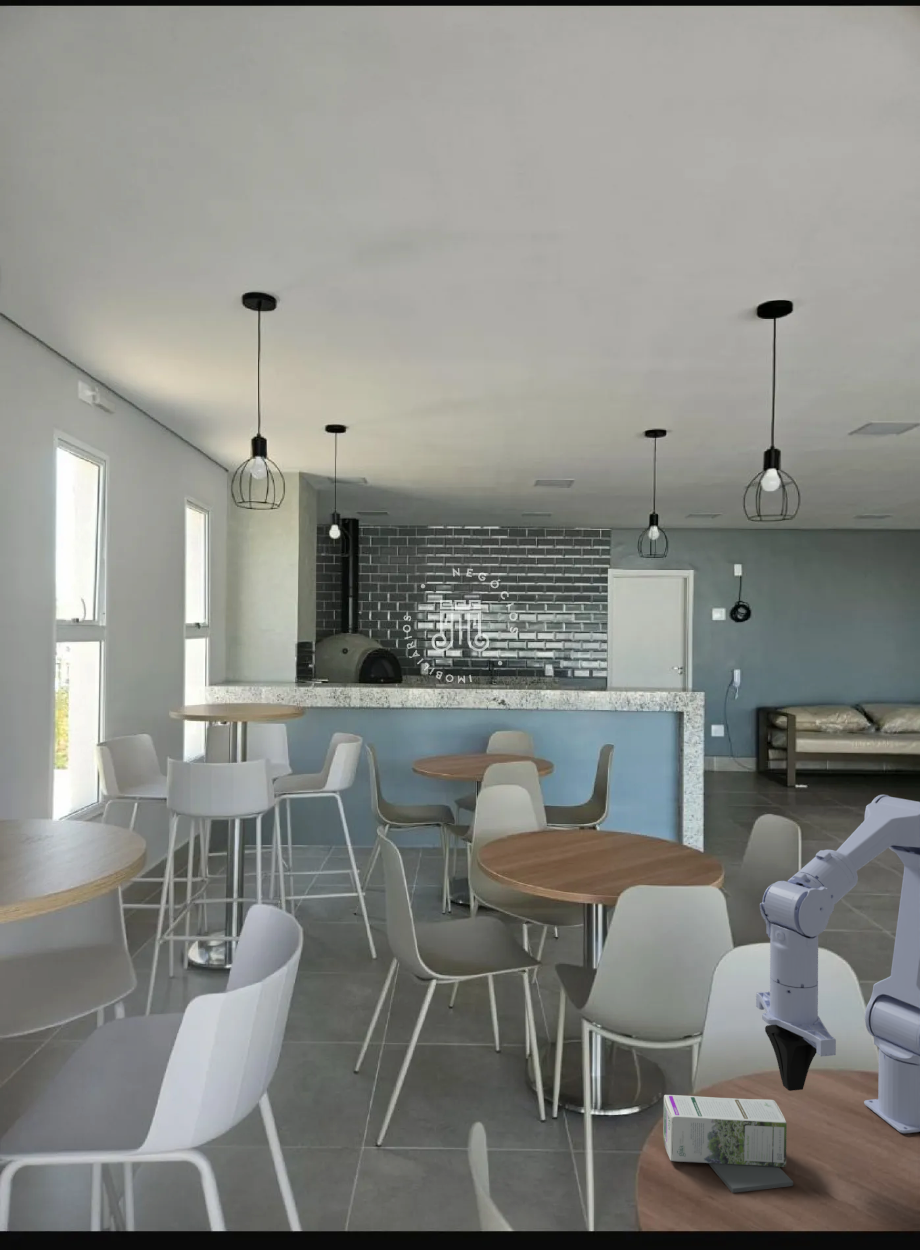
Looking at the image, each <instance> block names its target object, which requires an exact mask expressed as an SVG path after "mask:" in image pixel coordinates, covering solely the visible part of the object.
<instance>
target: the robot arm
mask: <svg viewBox="0 0 920 1250" xmlns="http://www.w3.org/2000/svg"><path fill="white" fill-rule="evenodd" d="M887 849H889V850H890V851H891V852H893V853H895V854H896V855H897V857H898V858H899V860H900V861H901V863H902V864H903V876H902V885H901V892H900V899H899V906H898V907H899V909H898V916H897V923H896V932H895V938H894V939H895V940H894V947H893V955H892V963H891V970H890V976H888V977H886V978H884V979H882V980H879V981H878V982H876V983H874V984H873V986H872V987H873V988H872V993H871V995H870V999H869V1001H868V1003H867V1005H866V1007H865V1010H864V1011H865V1012H864V1023H865V1027H866V1030H867V1032H868V1033H869V1035H870V1036H872V1037H873V1045H875V1046H876V1047H878V1078H877V1079H878V1085H877V1086H878V1090H877V1091H878V1092H877V1094H878V1097H877V1098H875V1099H874V1098H873V1099H866V1100H864V1101H863V1103H864V1105H865V1106H866V1107H867V1108H868V1109H870V1110H871V1111H872V1112H873V1113H875V1114H876V1115H877V1116H878V1117H880V1118H881V1119H882V1120H883V1121H885V1122H886V1123H887V1124H889V1125H890V1126H891V1127H893V1128H894V1129H895V1130H897V1131H898V1132H899V1133H900V1134H912V1133H919V1132H920V801H916V800H911V799H905V798H901V797H893V796H890V795H888V794H879V795H877V796H876V797H874V798H873V800H872V801H871V802H870V803H868V804H867V805H866V806H865V811H864V820H863V822H861V824H860V825H858V826H857V828H856V829H855V830H854V831H853V832H851V835H850V836H848V837H847V838H846V840H845V841H844V842H843V843H842V844H841V845H840V846H839V847H838V848H837V849H836V850H835V849H834V850H833V849H823V850H822V849H821V850H819V851H818V852H816V854H815V857H813V858H812V859H811V860H810V861H808V862H807V863H806V865H804V866H803V867H801V868H800V869H799V871H798V872H796V873H795V874H794V875H792V877H790V878H789V879H788V880H787V881H786V880H778V881H776V882H774V883H771V884H770V885H769V886H768V887H767V888H766V889H765V891H764V892H763V893H764V894H763V896H762V901H761V902H760V903H759V910H760V914H761V917H762V919H763V920H764V922H765V926H766V934H767V937H768V938H769V939H770V940H769V942H770V943H769V946H770V947H769V948H770V949H769V951H770V952H769V955H770V956H769V957H770V958H769V963H770V964H769V991H760V992H756V995H755V997H756V998H755V1000H756V1001H755V1007H756V1008H757V1009H759V1010H761V1011H762V1010H764V1011H765V1012H764V1013H762V1014H761V1019H762V1020H763V1021H764V1022H765V1023H766V1024H768V1025H766V1026H765V1027H764V1029H765V1030H764V1031H765V1034H766V1035H767V1037H768V1039H769V1041H770V1043H771V1046H772V1049H773V1051H774V1054H775V1057H776V1061H777V1062H776V1063H777V1066H778V1069H779V1075H780V1079H781V1083H782V1086H783V1087H784V1088H785V1089H787V1091H790V1092H793V1091H801V1090H803V1089H804V1087H805V1083H806V1080H807V1076H808V1072H809V1070H810V1066H811V1064H812V1062H813V1059H814V1058H815V1056H816V1054H817V1055H818V1056H820V1057H829V1056H830V1057H831V1056H836V1052H837V1051H836V1050H837V1049H836V1048H837V1039H836V1038H834V1036H833V1035H831V1034H830V1032H829V1031H828V1029H827V1028H826V1026H825V1024H824V1023H823V1021H822V1019H821V1018H820V1016H819V1015H818V1014H819V1010H818V1009H819V935H821V934H822V933H824V932H825V930H826V928H827V927H828V924H829V921H830V917H831V915H832V913H834V910H835V905H836V904H838V902H839V901H840V900H841V899H842V898H844V897H845V896H846V895H847V894H848V893H849V892H850V891H851V890H853V888H854V887H856V886H857V884H858V881H859V877H858V876H859V875H858V871H859V870H861V869H862V868H863V867H865V865H868V863H870V862H871V861H873V860H874V859H875V858H877V857H878V856H879V855H881V854H883V852H885V851H886V850H887Z"/></svg>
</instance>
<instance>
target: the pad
mask: <svg viewBox="0 0 920 1250" xmlns="http://www.w3.org/2000/svg"><path fill="white" fill-rule="evenodd" d="M707 1164H708V1165H709V1166H710V1167H711V1169H712V1170H713V1171H714V1172H715V1174H716V1175H717V1176H718V1178H719V1179H720V1180H721V1181H722V1182H723V1183H724V1184H725V1186H726V1187H727V1188H728V1190H730V1192H731V1193H732V1194H734V1193H743V1192H751V1191H761V1190H767V1189H768V1190H769V1189H778V1188H787V1187H793V1186H794V1181H793V1180H792V1179H791V1178H790V1177H789V1176H788V1175H787V1173H786V1172H784V1171H783V1170H782V1168H781V1167H774V1166H758V1165H737V1164H719V1163H707Z"/></svg>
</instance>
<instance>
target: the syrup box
mask: <svg viewBox="0 0 920 1250" xmlns="http://www.w3.org/2000/svg"><path fill="white" fill-rule="evenodd" d="M787 1124H788V1123H787V1121H786V1119H785V1116H784V1114H783V1113H782V1111H781V1109H780V1107H779V1105H778V1104H777V1101H775V1100H774V1099H761V1098H759V1099H758V1098H757V1099H755V1098H752V1099H751V1098H732V1097H716V1096H715V1097H712V1096H700V1095H699V1096H697V1095H680V1094H679V1095H678V1094H664V1095H663V1129H662V1130H663V1131H662V1132H663V1144H664V1147H665V1150H666V1151H665V1152H666V1153H667V1155H668V1158H669V1160H670V1162H679V1163H683V1162H684V1163H700V1164H701V1163H702V1164H703V1163H704V1164H705V1163H706V1164H708V1163H719V1164H737V1165H758V1166H774V1167H780V1168H785V1167H787V1139H788V1138H787V1135H788V1134H787Z"/></svg>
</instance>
